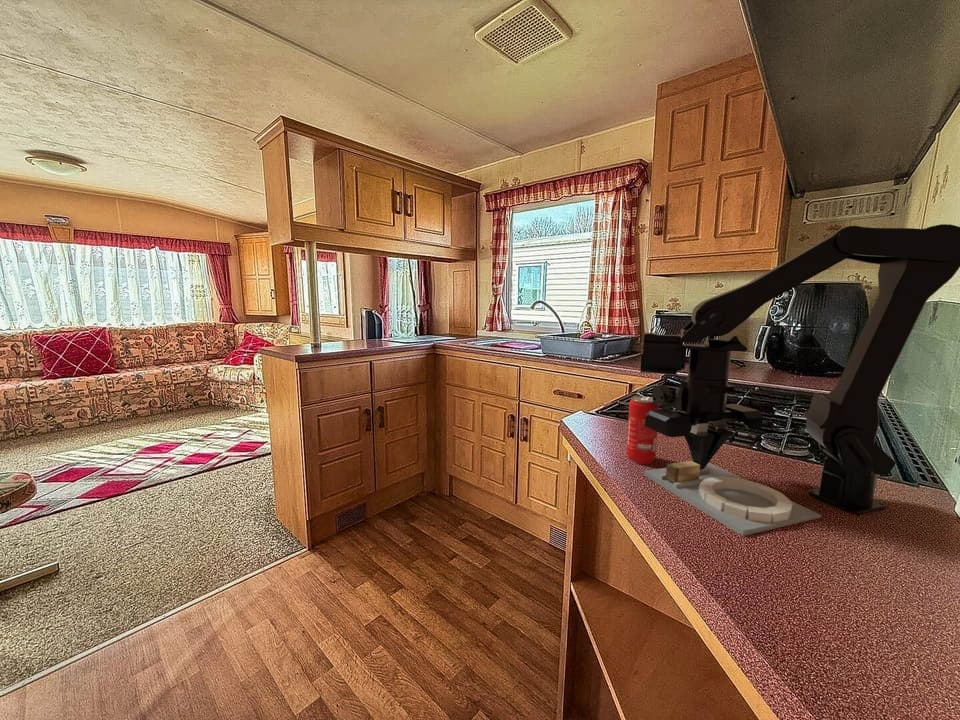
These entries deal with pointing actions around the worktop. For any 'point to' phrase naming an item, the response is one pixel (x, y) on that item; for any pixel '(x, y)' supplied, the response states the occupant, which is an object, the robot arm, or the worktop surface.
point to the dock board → (735, 500)
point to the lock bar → (682, 471)
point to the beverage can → (641, 431)
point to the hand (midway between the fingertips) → (699, 468)
